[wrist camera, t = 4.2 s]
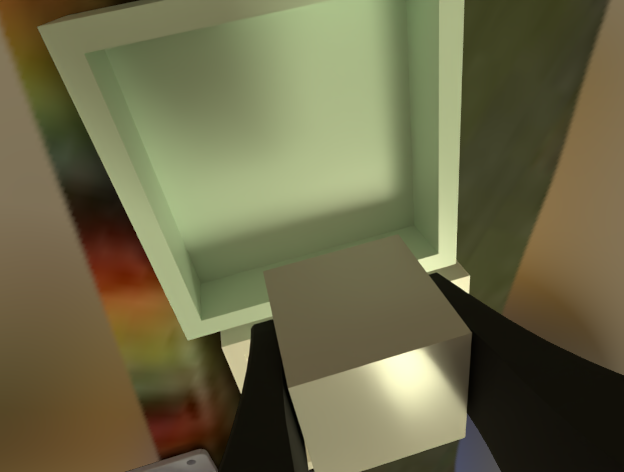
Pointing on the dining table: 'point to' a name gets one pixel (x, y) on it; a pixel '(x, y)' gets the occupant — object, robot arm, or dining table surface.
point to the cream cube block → (370, 355)
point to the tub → (269, 134)
